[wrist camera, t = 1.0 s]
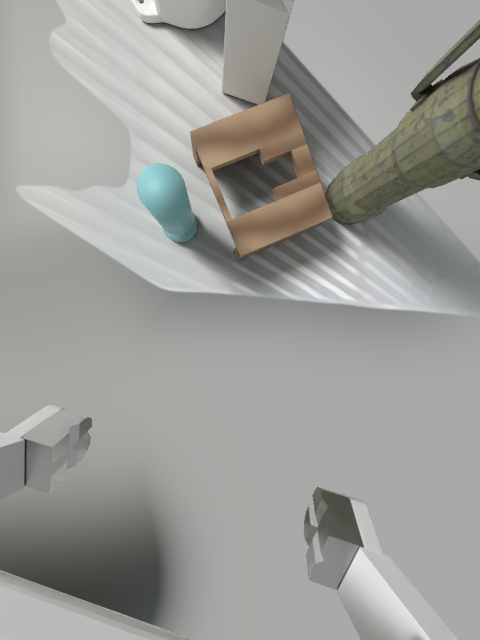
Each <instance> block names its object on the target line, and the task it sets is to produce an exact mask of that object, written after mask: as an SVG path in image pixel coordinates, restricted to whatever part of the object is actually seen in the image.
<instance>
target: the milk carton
mask: <svg viewBox="0 0 480 640" xmlns="http://www.w3.org/2000/svg"><path fill="white" fill-rule="evenodd" d="M293 2H294V0H226V19H225V39H224V59H223V79H222V92H224V93H226V94H229V95H232V96H235V97H238V98H240V99H243V100H246V101H249V102H252V103H255V104H257V105H259V104H262V103H264V102H265V101H266V97H267V94H268V90H269V87H270V83H271V80H272V76H273V73H274V69H275V66H276V62H277V59H278V55H279V52H280V48H281V45H282V41H283V38H284V34H285V31H286V28H287V24H288V21H289V17H290V13H291V10H292V5H293Z"/></svg>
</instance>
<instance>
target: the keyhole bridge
mask: <svg viewBox="0 0 480 640" xmlns="http://www.w3.org/2000/svg"><path fill="white" fill-rule="evenodd" d="M190 134H191V141H192V148H193V155H194V159H195V161H196V164H197V166H201V165H203V167H204V170H205V172H206V175H207V177H208V180H209V182H210V184H211V187H212V189H213V192H214V194H215V197H216V199H217V201H218V204H219V206H220V209H221V211H222V214H223V216H224V219H225V221H226V223H227V226H228V228H229V231H230V233H231V236H232V238H233V240H234V243H235V245H236V248H235V250H234V252H233V253H234V255H235V258H236V260H237V261H238V260H240V259H242V258H245V257H247V256H249V255H252V254H254V253H256V252H259V251H261V250H264V249H266V248H268V247H271V246H273V245H275V244H278V243H280V242H282V241H285V240H287V239H289V238H292V237H294V236H297V235H299V234H301V233H304V232H306V231H308V230H311V229H313V228H315V227H317V226H319V225H320V224H322V223H324V222H325V221H327V220H329V219H331V218H332V214H331V211H330V208H329V206H328V203H327V200H326V197H325V194H324V191H323V188H322V185H321V182H320V179H319V177H318V174H317V171H316V168H315V165H314V162H313V159H312V156H311V153H310V151H309V148H308V145H307V142H306V139H305V136H304V133H303V130H302V127H301V124H300V122H299V119H298V116H297V113H296V110H295V107H294V104H293V101H292V98H291V96H290V93H287V94H285V95H282V96H280V97H277V98H275V99H272V100H270V101H267V102H264V103H262V104H259V105H257V106H254V107H252V108H249V109H247V110H244V111H242V112H239V113H237V114H234V115H232V116H229V117H226V118H224V119H221V120H219V121H216V122H214V123H211V124H209V125H206V126H204V127H201V128H199V129H196V130H194V131H191V132H190ZM257 153H258V154H259V157H260V160H261V162H262V165H265V164H267V163H270V162H272V161H275V160H277V159H279V158H282V157H284V156H287V155H289V156H290V159H291V161H292V164H293V167H294V170H295V172H296V175H297V178H296V179H294V180H292V181H289V182H287V183H284V184H282V185H279V186H277V187H275V188H274V189H273V190H272V192H273V194H274V197H275V200H276V201H275V202H272V203H270V204H268V205H265V206H263V207H260V208H258V209H255V210H253V211H251V212H248V213H246V214H243V215H241V216H239V217H236V218H234V219H232V218H231V215H230V213H229V211H228V208H227V206H226V203H225V201H224V198H223V196H222V193H221V191H220V188H219V186H218V183H217V181H216V179H215V176H214V174H213V171H215V170H217V169H220V168H222V167H225V166H227V165H230V164H232V163H235V162H237V161H240V160H242V159H244V158H247V157H249V156H252V155H254V154H257Z"/></svg>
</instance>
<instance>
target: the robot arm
mask: <svg viewBox="0 0 480 640" xmlns="http://www.w3.org/2000/svg"><path fill="white" fill-rule="evenodd" d="M130 1H131V3H132V5H133V7H134V8H135V10H136V12H137V14H138V15H139V17H140V18H141V20H142V21H144V22H146V23H159V22H165V23H169V24H172V25H175V26H178V27H181V28H189V29H194V28H201V27H204V26H207V25H209V24H211V23H213V22H214V21H216V20H217V19H218V18H219V17H220V16H221V15H222V14H223V13H224V11H225V10H226V0H130ZM141 2H143V3H142V4H141ZM91 427H92V419H91V418H90V417H88V416H85V415H82V414H79V413H76V412H73V411H70V410H67V409H63V408H60V407H57V406H54V405H49V406H46V407H44V408H43V409H41V410H40V411H38V412H37V413H35V414H34V415H32V416H31V417H29V418H28V419H26V420H25V421H24V422H22V423H21V424H19V425H17V426H16V427H14V428H13V429H11V430H10V431H8V432H7V433H2V432H0V500H1V499H3V498H5V497H7V496H9V495H11V494H13V493H15V492H17V491H19V490H21V489H22V488H24V486H27V487H30V488H34V489H37V490H40V491H43V492H47V493H51V492H52V491H53V490H54V489H55V488H56V486H57V485H58V484H59V483H60V482H61V481H62V480H63V479H64V478H65V477H66V475H67V469H69V468H71V467H74V466H76V465H77V464H78V463H79V462H80V461H81V460H82V459H83V457H84V455H85V454H86V452H87V450H88V447H89V445H90V439H91V437H90V435H89V433H88V430H89V429H90V428H91ZM313 502H314V503H312V504H311V505H309V506H308V508H307V511H306V514H305V520H304V537H305V540H306V542H307V544H308V545H309V549H308V551H307V553H306V557H307V567H308V578H309V580H311V581H314V582H316V583H319V584H322V585H325V586H327V587H330V588H333V589H335V590H338V591H337V593H338V595H339V597H340V599H341V601H342V603H343V605H344V607H345V609H346V611H347V613H348V615H349V617H350V619H351V621H352V622H353V624H354V626H355V628H356V630H357V632H358V634H359V636H360V638H361V640H457V639H456V637H455V636H454V635H453V634H452V632H451V631H450V630H449V629H448V628H447V626H446V625H445V624H444V623H443V622H442V620H441V619H440V618H439V617H438V615H437V614H436V613H435V612H434V611H433V609H432V608H431V607H430V606H429V605H428V603H427V602H426V601H425V600H424V599H423V597H422V596H421V595H420V594H419V592H418V591H417V590H416V589H415V588H414V586H413V585H412V584H411V583H410V582H409V581H408V579H407V578H406V577H405V575H404V574H403V573H402V572H401V571H400V569H399V568H398V567H397V566H396V565H395V563H394V562H393V561H392V560H391V558H390V557H389V556H387V555H384V554H383V551H382V549H381V546H380V543H379V540H378V538H377V535H376V532H375V529H374V526H373V524H372V521H371V518H370V515H369V512H368V510H367V507H366V504H365V502H364V501H363V500H360V499H357V498H353V497H349V496H345V495H343V494H339V493H336V492H332V491H329V490H326V489H322V488H319V487H317V488H316V489H315V491H314V493H313ZM0 640H192V639H190V638H187V637H184V636H181V635H179V634H176V633H173V632H170V631H168V630H164V629H162V628H159V627H157V626H154V625H151V624H148V623H145V622H143V621H140V620H137V619H134V618H132V617H128V616H126V615H123V614H120V613H118V612H115V611H112V610H109V609H106V608H104V607H101V606H98V605H95V604H93V603H90V602H87V601H84V600H81V599H78V598H76V597H73V596H70V595H67V594H65V593H62V592H59V591H56V590H53V589H51V588H48V587H45V586H42V585H40V584H37V583H34V582H31V581H29V580H25V579H23V578H20V577H17V576H14V575H12V574H9V573H6V572H4V571H1V570H0Z"/></svg>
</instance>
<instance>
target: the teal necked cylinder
mask: <svg viewBox="0 0 480 640" xmlns="http://www.w3.org/2000/svg"><path fill="white" fill-rule="evenodd" d="M137 192H138V195H139V198H140V200H141V201H142V203H143V204H144V205H145V206H146V208H147V209H148V210H149V211H150V213H151V214H152V215H153V216H154V217H155V219H156V220H157V221H158V222H159V224H160V225H161V226H162V229H163V231H164V232H165V234H166V235H167V236H168V237H169V238H170V239H171V240H173V241H175V242H186V241H189V240H190V239H191V238H193V236H194V235H195V233H196V230H197V221H196V218H195V215H194V214H193V212H192V209H191V206H190V202H189V198H188V194H187V190H186V187H185V183H184V180H183V178H182V176H181V175H180V173H179V172H178V171H177V170H176V169H174V168H173V167H171V166H169V165H166V164H159V163H158V164H153V165H150V166H148V167H147V168H145V169H144V170H143V171H142V173H141V174H140V176H139V178H138V182H137Z"/></svg>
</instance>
